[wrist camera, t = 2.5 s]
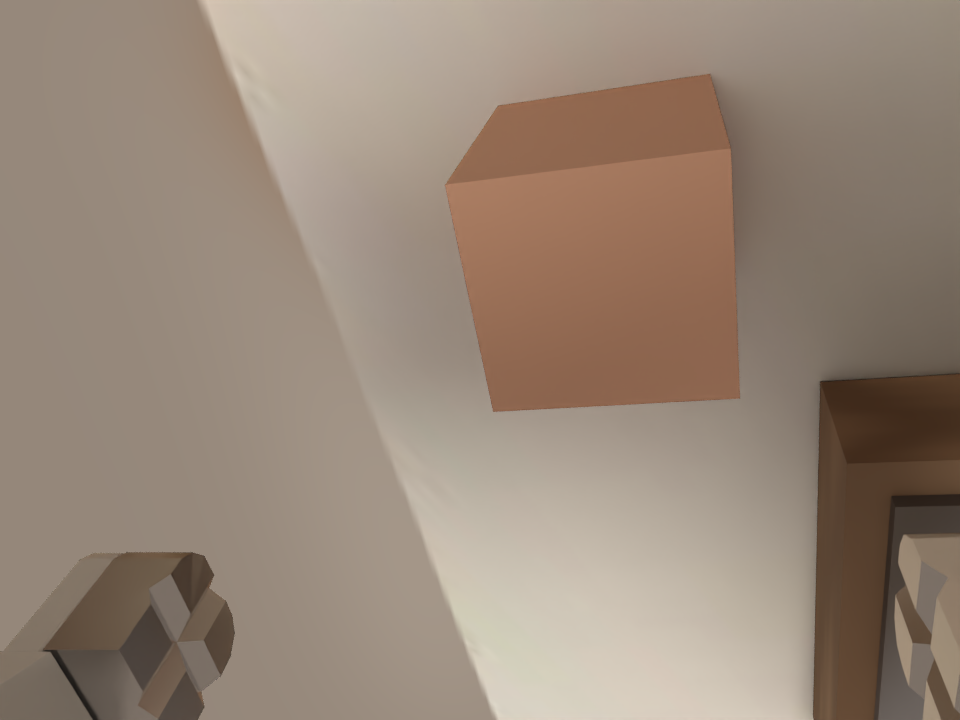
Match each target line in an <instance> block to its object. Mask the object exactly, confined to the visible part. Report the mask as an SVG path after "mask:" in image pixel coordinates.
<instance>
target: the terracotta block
mask: <svg viewBox="0 0 960 720" xmlns="http://www.w3.org/2000/svg"><path fill="white" fill-rule="evenodd" d="M445 187H446V191H447V196H448V201H449V205H450V210H451V215H452V220H453V224H454V229H455V234H456V238H457V243H458V248H459V253H460V257H461V262H462V267H463V271H464V276H465V281H466V285H467V290H468V295H469V300H470V304H471V309H472V314H473V318H474V323H475V328H476V332H477V337H478V342H479V347H480V351H481V356H482V361H483V365H484V370H485V375H486V380H487V384H488V389H489V394H490V398H491V403H492V408H493V412H497V411H515V410H534V409H552V408H571V407H589V406H608V405H626V404H645V403H663V402H682V401H700V400H719V399H737V398H740V389H739V361H738V334H737V306H736V278H735V250H734V222H733V194H732V167H731V147H730V144H729V140H728V136H727V133H726V129H725V126H724V122H723V119H722V115H721V112H720V108H719V104H718V101H717V97H716V94H715V90H714V87H713V83H712V80H711V76H710V74H706V75H699V76H693V77H686V78H679V79H673V80H666V81H660V82H653V83H646V84H640V85H633V86H626V87H620V88H613V89H607V90H600V91H593V92H587V93H580V94H573V95H567V96H560V97H553V98H547V99H540V100H534V101H527V102H520V103H514V104H507V105H500V106H498V107H497V108H496V110H495V111H494V113H493V114H492V116H491V117H490V119H489V120H488V122H487V123H486V125H485V126H484V128H483V129H482V131H481V132H480V134H479V135H478V137H477V138H476V140H475V141H474V143H473V144H472V146H471V147H470V148H469V150H468V151H467V153H466V154H465V156H464V157H463V159H462V160H461V162H460V163H459V165H458V166H457V168H456V169H455V171H454V172H453V174H452V175H451V177H450V178H449V180H448V181H447V183H446V184H445Z"/></svg>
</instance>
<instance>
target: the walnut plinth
mask: <svg viewBox="0 0 960 720" xmlns="http://www.w3.org/2000/svg"><path fill="white" fill-rule="evenodd" d="M932 533H960V374H952V375H934V376H917V377H899V378H881V379H864V380H846V381H828V382H820V423H819V469H818V516H817V562H816V609H815V655H814V702H813V718H814V720H923V711H924V701H925V700H924V699H923V698H922V697H921V696H920V695H918V694H917V693H916V692H915V691H914V690H912V689H911V688H910V687H909V686H908V683H907V679H906V676H905V673H904V670H903V667H902V664H901V660H900V655H899V651H898V647H897V640H896V630H895V620H894V616H895V595H896V594H897V593H898V592H899V591H900V590H901V589H902V588H903V587H904V586H905V585H906V583H905V580H904V578H903V575H902V572H901V570H900V567H899V564H898V558H899V548H900V543H901V540H902V538H903V535H904V534H932Z"/></svg>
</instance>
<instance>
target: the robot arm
mask: <svg viewBox="0 0 960 720" xmlns="http://www.w3.org/2000/svg"><path fill="white" fill-rule="evenodd" d="M898 564H899V567H900V570H901V572H902V575H903V578H904V580H905V583H906V585H905V586H904V587H903V588H902V589H901V590H900V591H899V592H898V593H897V594H896V595H895V616H894V620H895V630H896V640H897V647H898V651H899V655H900V660H901V664H902V667H903V670H904V673H905V676H906V679H907V683H908V686H909V687H910V688H911V689H912V690H914V691H915V692H916V693H917V694H918V695H920V696H921V697H922V698H923V699H924V700H925V701H924V711H923V720H960V533H932V534H904V535H903V538H902V540H901V543H900V548H899V558H898ZM213 577H214V574H213V572H212V570H211V568H210V566H209V564H208V562H207V560H206V558H205V556H203V555H200V554H196V553H193V552H126V553H93V554H90V555H88V556H86V557H84V558H82V559H80V560H79V561H78V562H77V564H76V565H75V566H74V567H73V568H72V570H71V571H70V572H69V573H68V575H67V576H66V577H65V578H64V579H63V580H62V581H61V583H60V584H59V585H58V586H57V588H56V589H55V590H54V591H53V592H52V593H51V595H50V596H49V597H48V598H47V599H46V601H45V602H44V603H43V604H42V605H41V607H40V608H39V609H38V610H37V611H36V612H35V614H34V615H33V616H32V617H31V619H30V620H29V621H28V622H27V623H26V625H25V626H24V627H23V628H22V629H21V631H20V632H19V633H18V634H17V635H16V636H15V638H14V639H13V640H12V641H11V642H10V643H9V645H8V646H7V647H6V648H5V650H4V651H0V720H198V718H199V716H200V714H201V713H202V710H203V709H204V702H203V697H202V690H204V689H205V688H206V687H208V686H209V685H210V684H211V683H213V682H214V681H215V680H217V679H218V678H219V677H220V676H221V674H222V673H223V671H224V669H225V666H226V665H227V663H228V660H229V658H230V656H231V651H232V645H233V640H234V634H235V632H234V625H233V617H232V614H231V612H230V609H229V607H228V604H227V602H226V601H225V600H224V599H223V598H222V597H220V596H219V595H218V594H216V593H215V592H214V591H212V590H211V589H210V588H209V587H210V585H211V582H212V580H213Z"/></svg>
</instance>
